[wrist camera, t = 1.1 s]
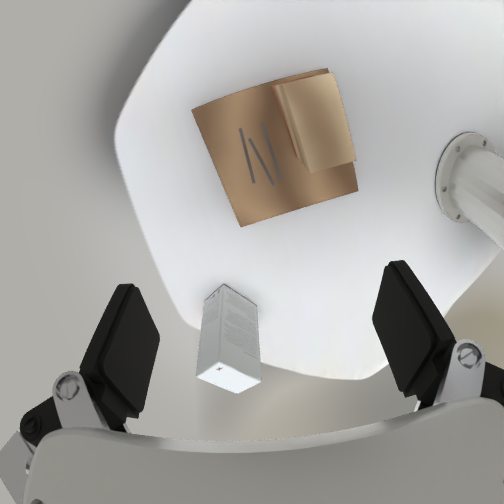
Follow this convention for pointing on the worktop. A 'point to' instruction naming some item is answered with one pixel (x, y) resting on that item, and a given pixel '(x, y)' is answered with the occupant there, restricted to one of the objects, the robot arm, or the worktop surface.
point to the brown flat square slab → (264, 156)
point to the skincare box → (229, 342)
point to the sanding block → (316, 121)
